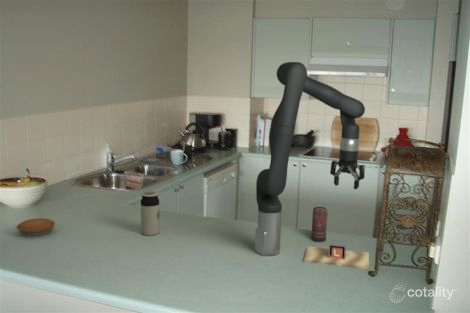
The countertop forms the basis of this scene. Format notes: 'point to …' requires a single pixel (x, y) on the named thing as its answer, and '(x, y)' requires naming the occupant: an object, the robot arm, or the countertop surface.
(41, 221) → the pie
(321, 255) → the board
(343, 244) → the cover
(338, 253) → the letter cube
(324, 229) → the can
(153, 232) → the travel mug
